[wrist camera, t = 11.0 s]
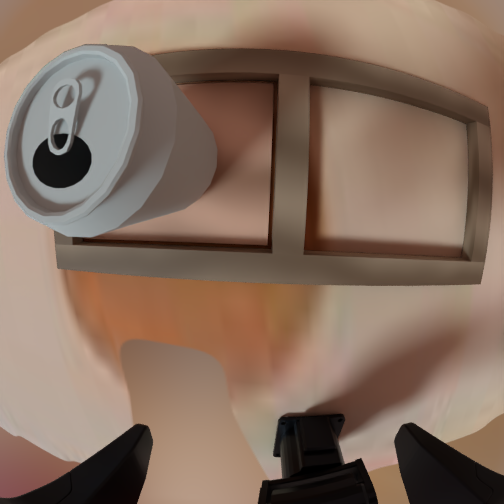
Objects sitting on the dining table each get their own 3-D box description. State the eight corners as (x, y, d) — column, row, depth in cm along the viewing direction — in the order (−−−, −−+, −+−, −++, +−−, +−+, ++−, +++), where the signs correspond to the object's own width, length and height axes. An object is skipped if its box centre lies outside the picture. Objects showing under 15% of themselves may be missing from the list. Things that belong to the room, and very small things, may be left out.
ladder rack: (470, 279, 20) (480, 284, 18) (67, 264, 20) (57, 268, 19) (478, 110, 16) (487, 107, 15) (75, 81, 17) (66, 76, 15)
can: (112, 204, 19) (-16, 227, 7) (131, 106, 17) (23, 45, 5) (207, 222, 19) (134, 271, 7) (230, 116, 17) (192, 16, 6)
